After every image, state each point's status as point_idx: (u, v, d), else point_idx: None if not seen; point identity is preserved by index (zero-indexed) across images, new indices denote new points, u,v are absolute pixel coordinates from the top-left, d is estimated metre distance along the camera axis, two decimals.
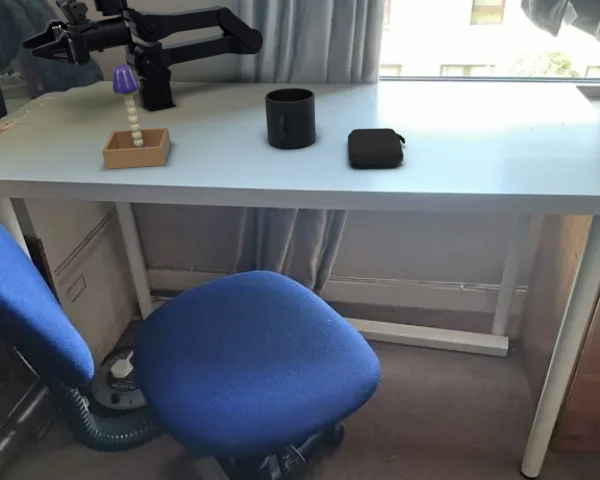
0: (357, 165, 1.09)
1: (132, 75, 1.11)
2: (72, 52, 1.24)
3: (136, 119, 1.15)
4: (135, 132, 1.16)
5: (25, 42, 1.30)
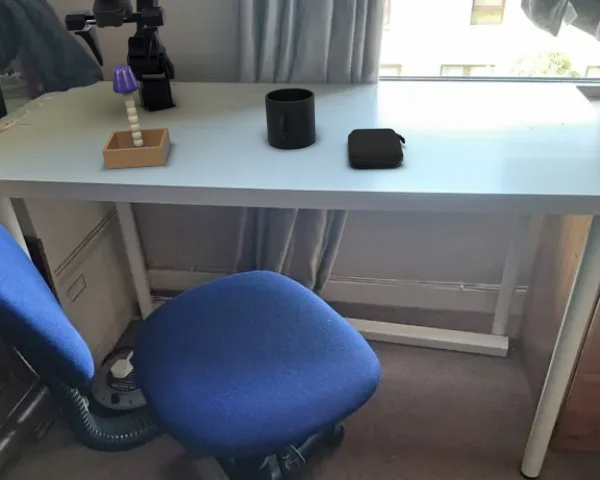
0: (357, 165, 1.09)
1: (132, 75, 1.11)
2: None
3: (136, 119, 1.15)
4: (135, 132, 1.16)
5: (101, 62, 1.26)
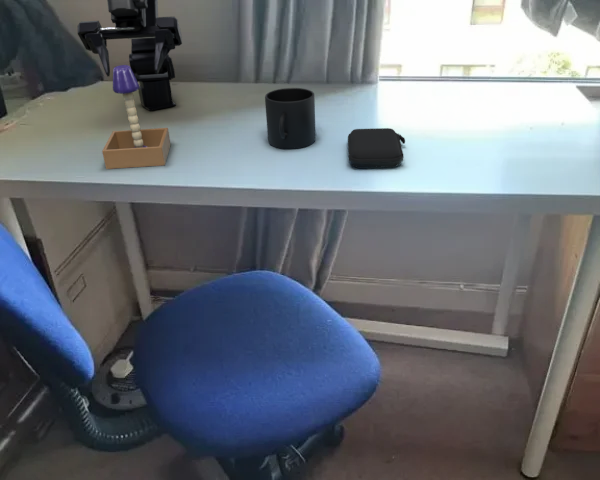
0: (357, 165, 1.09)
1: (132, 75, 1.11)
2: None
3: (136, 119, 1.15)
4: (135, 132, 1.16)
5: (108, 70, 1.18)
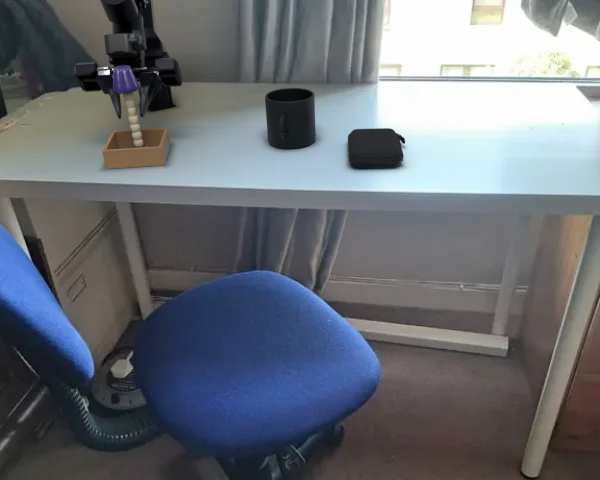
0: (357, 165, 1.09)
1: (132, 75, 1.11)
2: (159, 81, 1.16)
3: (136, 119, 1.15)
4: (135, 132, 1.16)
5: (119, 113, 1.14)
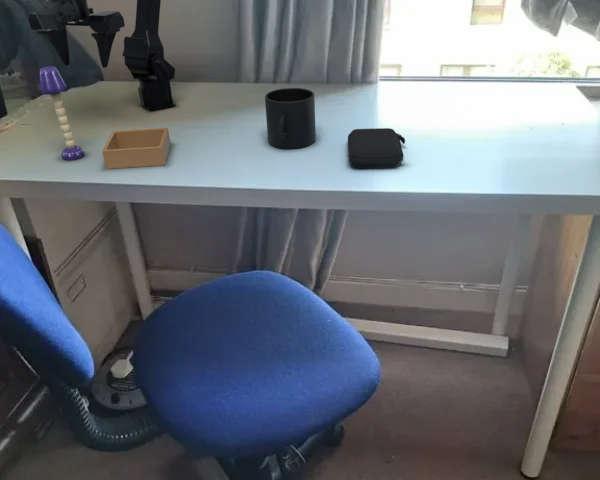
0: (357, 165, 1.09)
1: (55, 77, 1.11)
2: (113, 29, 1.21)
3: (64, 120, 1.16)
4: (64, 132, 1.18)
5: (66, 62, 1.27)
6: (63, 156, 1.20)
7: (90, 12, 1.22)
